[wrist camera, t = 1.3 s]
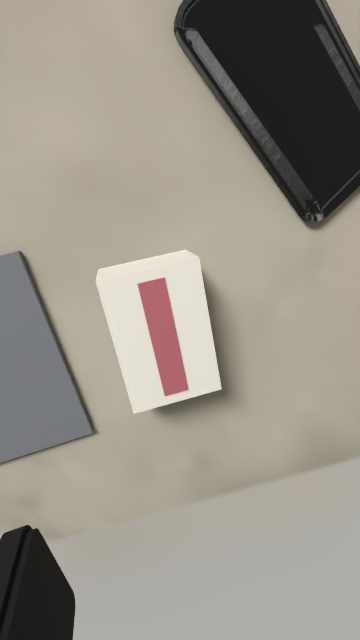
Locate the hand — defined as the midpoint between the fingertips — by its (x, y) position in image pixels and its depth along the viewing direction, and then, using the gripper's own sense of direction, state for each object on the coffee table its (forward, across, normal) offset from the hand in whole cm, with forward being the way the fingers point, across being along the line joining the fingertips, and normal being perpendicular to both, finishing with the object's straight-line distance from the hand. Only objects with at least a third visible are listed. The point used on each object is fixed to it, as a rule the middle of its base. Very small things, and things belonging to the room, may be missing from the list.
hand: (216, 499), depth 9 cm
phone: (+16, -12, -12) cm, 24 cm away
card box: (+16, 0, 0) cm, 16 cm away
